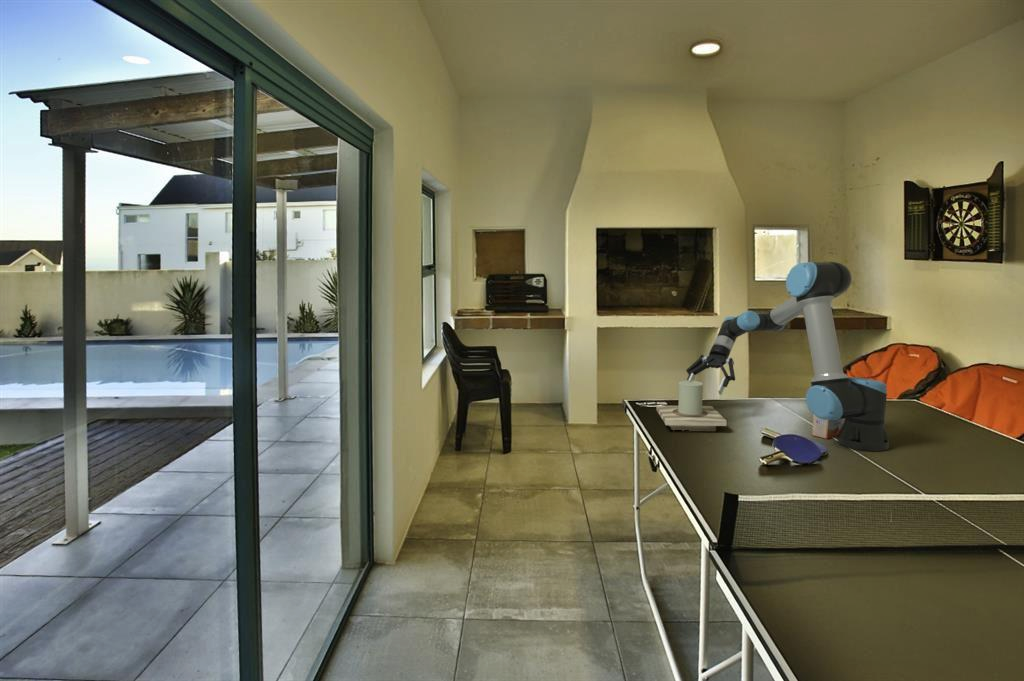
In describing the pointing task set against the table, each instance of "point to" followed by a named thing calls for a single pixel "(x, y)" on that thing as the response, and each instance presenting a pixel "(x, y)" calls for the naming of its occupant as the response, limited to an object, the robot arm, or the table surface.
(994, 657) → the table surface
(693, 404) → the can
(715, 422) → the stand
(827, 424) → the cracker box
